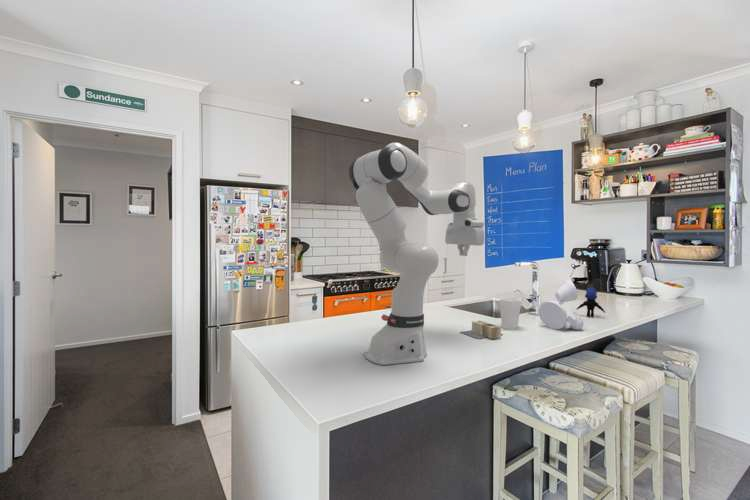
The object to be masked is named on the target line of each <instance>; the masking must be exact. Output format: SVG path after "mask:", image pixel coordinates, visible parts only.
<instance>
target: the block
mask: <svg viewBox="0 0 750 500" xmlns="http://www.w3.org/2000/svg"><path fill="white" fill-rule="evenodd" d="M471 330H472V332H473V333H476V334H479V335H482V336H485V337H488V339H491V340H496V339H501V338H502V335H501V334H502V326H500V325H497V324H493V323H489V322H485V321H483V320H475V321H471Z"/></svg>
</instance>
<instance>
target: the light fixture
mask: <svg viewBox="0 0 750 500" xmlns="http://www.w3.org/2000/svg"><path fill="white" fill-rule="evenodd" d="M554 296H555V300H556V301H554V300H549V301H544V302H542V303H541V304H540V305H539V308H538V317H539V319H540V320H541V322H542V323H543V324H544V326H546V327H548V328H550V329H553V330H560V329H562V328H564V329H565V330H569V329H572V330H574V331H577V330H578V331H579V330H581V329H582V328H583V326H584V321H583V320H584V319H582V317H581V316H579V314H578V312H577V311H573V312H572V313H570V314H569V315H568V314H567V311H566V309H565V308H564V307H563V306H562V305H563V304H564V303H567V302H572V301H576V300H577V299H578V290H577V287H576V286H575V284H574V282H573V281H572V280H570V279H568V280H567V281H566V282H564V283H563V284H562V285H561V286H560V287H559V288H558V289H556V291H555V293H554Z"/></svg>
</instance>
